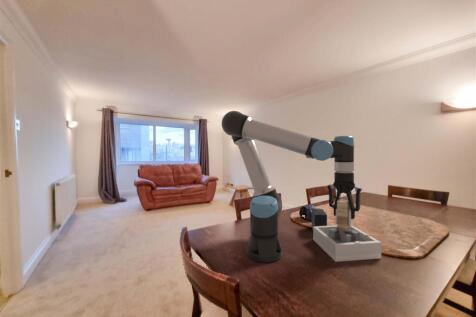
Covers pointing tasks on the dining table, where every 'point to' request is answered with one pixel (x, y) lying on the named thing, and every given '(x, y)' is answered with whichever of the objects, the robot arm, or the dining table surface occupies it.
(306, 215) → the rock
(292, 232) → the dining table surface
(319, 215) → the small box
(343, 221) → the long wooden block
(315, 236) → the white open square box
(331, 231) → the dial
